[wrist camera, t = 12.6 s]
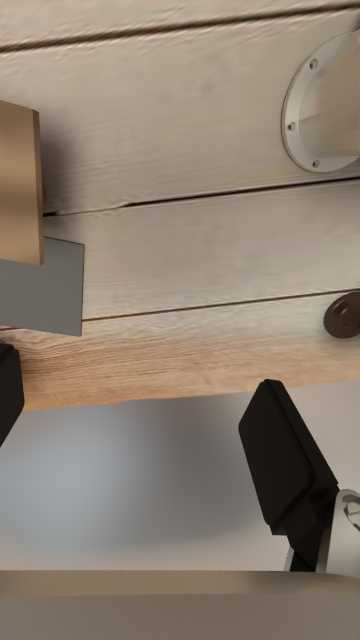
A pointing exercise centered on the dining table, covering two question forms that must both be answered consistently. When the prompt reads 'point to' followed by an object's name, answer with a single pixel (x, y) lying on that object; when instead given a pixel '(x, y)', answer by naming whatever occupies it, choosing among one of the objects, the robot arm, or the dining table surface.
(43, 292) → the mat
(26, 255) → the lid
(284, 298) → the dining table surface
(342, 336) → the candlestick
